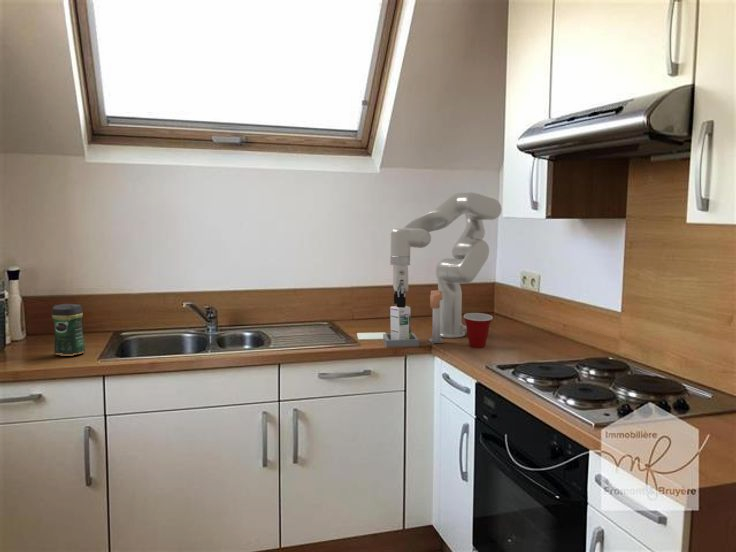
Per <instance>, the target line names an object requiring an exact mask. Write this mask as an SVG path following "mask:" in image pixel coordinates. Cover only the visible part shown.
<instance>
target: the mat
mask: <svg viewBox="0 0 736 552" xmlns="http://www.w3.org/2000/svg"><path fill="white" fill-rule="evenodd" d="M383 334H387V333H386V332H385V331H384V332H357V333H356V336H357V340H358V341H374V340H375V341H379V340H381V341H383Z"/></svg>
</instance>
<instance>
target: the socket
mask: <svg viewBox="0 0 736 552" xmlns="http://www.w3.org/2000/svg"><path fill="white" fill-rule="evenodd" d="M440 304H441V301H440ZM382 341H383V343H384V345H385V347H386V348H403V347H404V348H406V347H412V348H413V347H420V339H419V338H418V337H417V335H416V333H413V332H411V339H404V340H391V333H386V334H383V340H382ZM428 342H429V343H430V344H431V345H435V344H434V343H444V344H445V341H444V339H443V337H440V308H437V309H434V308H432V337H431V338H428Z"/></svg>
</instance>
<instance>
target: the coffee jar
mask: <svg viewBox="0 0 736 552" xmlns="http://www.w3.org/2000/svg"><path fill="white" fill-rule="evenodd" d="M51 311H52V312H51V318H52V321H53V324H54V325H53V326H54V354H55V353H63V354H73V353H79V352H82V351H85V352H86V345H85V340H84V333H83V325H82V324H83V323H82V322H83V321H82V319H83V315H84V313H83V309H82V306H81V304H76V303H62V304H54V305H53V306H52V309H51Z"/></svg>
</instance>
